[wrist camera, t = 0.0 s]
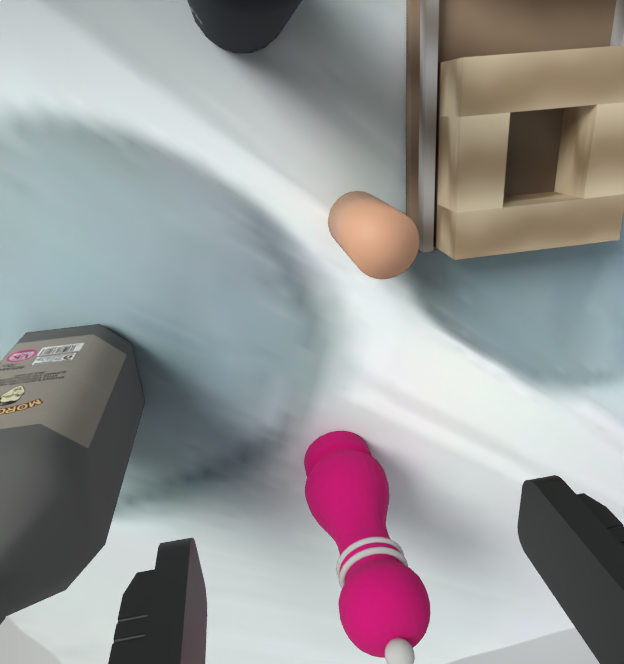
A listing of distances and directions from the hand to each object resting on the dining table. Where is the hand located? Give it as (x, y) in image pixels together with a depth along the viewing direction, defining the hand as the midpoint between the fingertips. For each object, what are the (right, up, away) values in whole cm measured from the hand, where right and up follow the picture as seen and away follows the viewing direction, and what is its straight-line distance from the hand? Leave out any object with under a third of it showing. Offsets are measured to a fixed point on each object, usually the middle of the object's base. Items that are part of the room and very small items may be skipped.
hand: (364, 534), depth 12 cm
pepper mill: (+1, -7, +36) cm, 37 cm away
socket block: (+14, +18, +25) cm, 34 cm away
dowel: (+2, +13, +27) cm, 30 cm away
